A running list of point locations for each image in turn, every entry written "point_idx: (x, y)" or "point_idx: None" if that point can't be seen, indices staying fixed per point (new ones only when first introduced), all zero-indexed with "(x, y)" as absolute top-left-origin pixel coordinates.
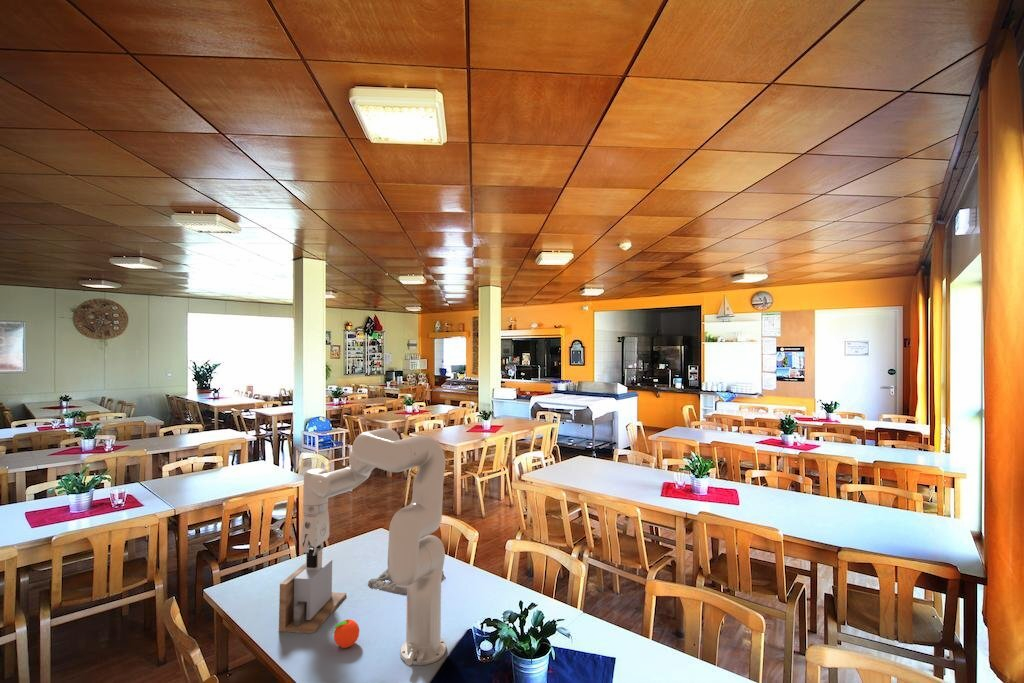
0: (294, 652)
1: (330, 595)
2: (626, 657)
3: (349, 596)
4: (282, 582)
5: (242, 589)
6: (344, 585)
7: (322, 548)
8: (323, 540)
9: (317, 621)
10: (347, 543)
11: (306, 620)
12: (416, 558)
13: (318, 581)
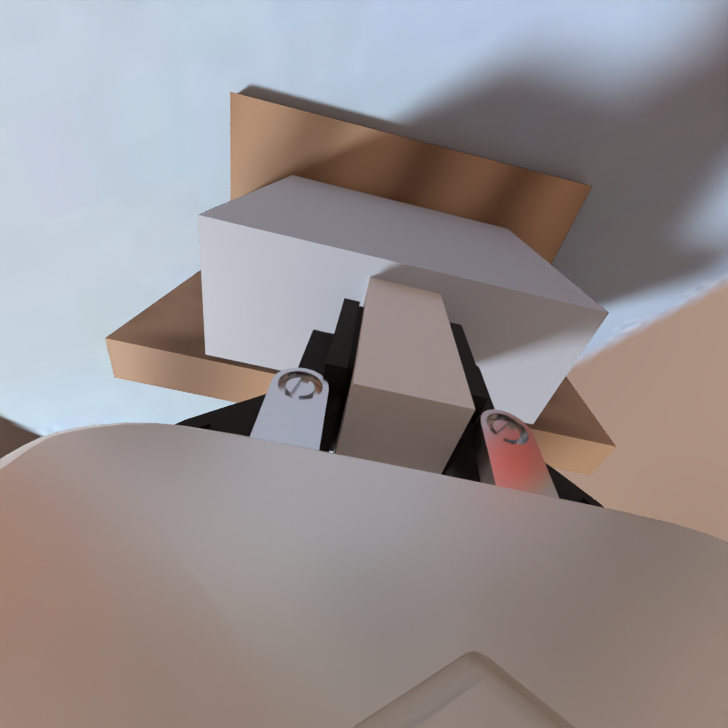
0: (706, 229)
1: (302, 180)
2: None
3: (238, 68)
4: (575, 467)
5: None
6: (125, 141)
7: (286, 375)
8: (437, 503)
9: (515, 188)
10: None
11: None
12: None
13: (458, 254)
